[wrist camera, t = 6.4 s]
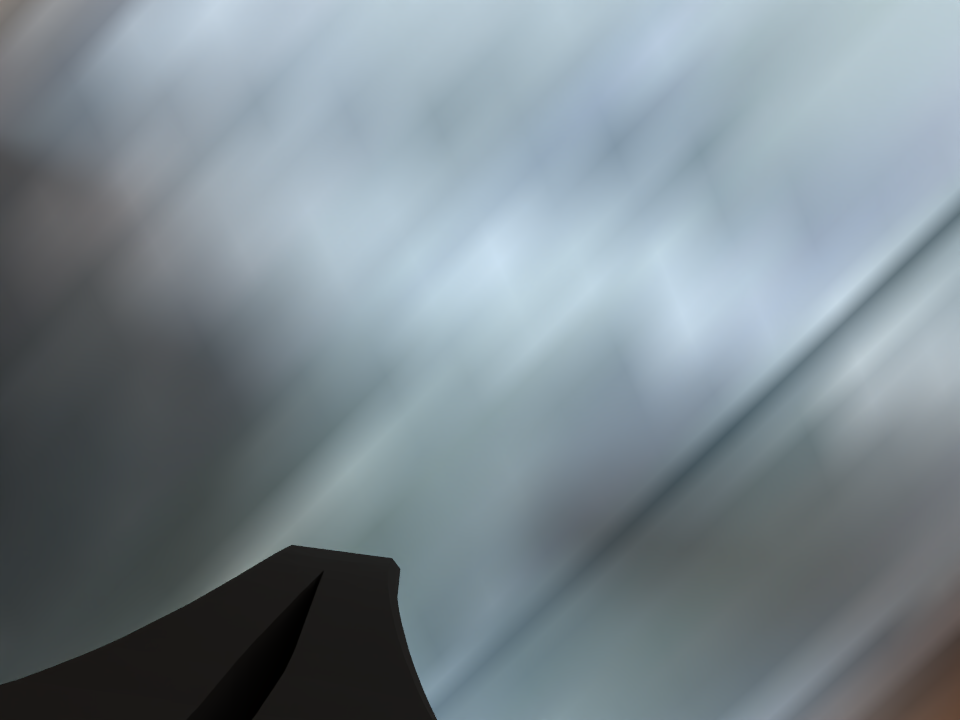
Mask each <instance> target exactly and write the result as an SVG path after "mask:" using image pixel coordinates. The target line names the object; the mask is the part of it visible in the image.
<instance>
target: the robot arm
mask: <svg viewBox="0 0 960 720" xmlns="http://www.w3.org/2000/svg"><path fill="white" fill-rule="evenodd" d="M399 576H400V568H399V567H398V565H397V564H396V563H395V561H394V560H393V559H392V558H385V557H378V556H370V555H363V554H355V553H348V552H341V551H333V550H326V549H318V548H311V547H303V546H296V545H291V546H289V547H287V548H285V549H283V550H281V551H279V552H277V553H275V554H274V555H272V556H270V557H268V558H267V559H265V560H263V561H262V562H260V563H258V564H257V565H255V566H253V567H252V568H250V569H248V570H247V571H245V572H243V573H242V574H240V575H238V576H237V577H235V578H233V579H232V580H230V581H228V582H226V583H225V584H223V585H221V586H219V587H218V588H216V589H214V590H212V591H211V592H209V593H207V594H206V595H204V596H202V597H200V598H199V599H197V600H195V601H193V602H192V603H190V604H188V605H186V606H184V607H182V608H180V609H178V610H176V611H174V612H172V613H170V614H168V615H166V616H164V617H162V618H160V619H158V620H156V621H154V622H152V623H150V624H148V625H146V626H145V627H143V628H141V629H139V630H137V631H135V632H133V633H131V634H129V635H127V636H125V637H123V638H121V639H118V640H116V641H114V642H112V643H110V644H107V645H105V646H103V647H100V648H98V649H96V650H93V651H91V652H89V653H86V654H84V655H82V656H79V657H77V658H74V659H71V660H69V661H66V662H64V663H61V664H59V665H56V666H53V667H51V668H48V669H46V670H43V671H41V672H38V673H35V674H32V675H30V676H27V677H24V678H21V679H18V680H15V681H12V682H9V683H5V684H2V685H0V720H437V719H436V717H435V715H434V713H433V710H432V708H431V706H430V704H429V702H428V700H427V697H426V695H425V693H424V690H423V688H422V685H421V683H420V680H419V678H418V675H417V672H416V670H415V667H414V664H413V661H412V658H411V655H410V652H409V649H408V645H407V642H406V638H405V634H404V630H403V627H402V623H401V618H400V613H399V607H398V600H397V595H398V586H399Z"/></svg>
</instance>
